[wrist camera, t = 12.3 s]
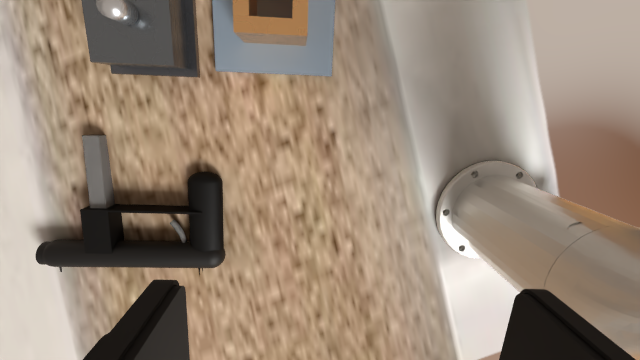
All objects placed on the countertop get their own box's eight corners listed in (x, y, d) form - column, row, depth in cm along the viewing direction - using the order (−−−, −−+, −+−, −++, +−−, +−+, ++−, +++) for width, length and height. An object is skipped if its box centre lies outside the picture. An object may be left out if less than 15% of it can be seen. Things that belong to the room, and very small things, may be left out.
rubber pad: (336, -54, 30) (337, -57, 29) (331, 76, 33) (331, 75, 33) (210, -64, 29) (209, -67, 29) (217, 71, 32) (215, 70, 32)
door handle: (14, 133, 31) (37, 280, 34) (219, 141, 32) (222, 281, 36) (41, 131, 34) (59, 266, 37) (226, 139, 36) (228, 267, 39)
